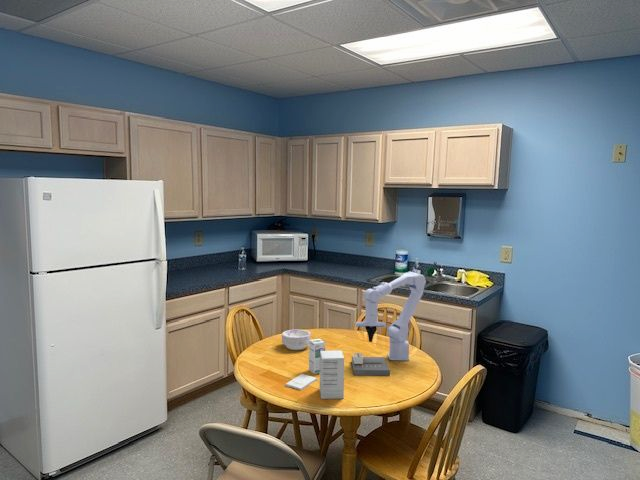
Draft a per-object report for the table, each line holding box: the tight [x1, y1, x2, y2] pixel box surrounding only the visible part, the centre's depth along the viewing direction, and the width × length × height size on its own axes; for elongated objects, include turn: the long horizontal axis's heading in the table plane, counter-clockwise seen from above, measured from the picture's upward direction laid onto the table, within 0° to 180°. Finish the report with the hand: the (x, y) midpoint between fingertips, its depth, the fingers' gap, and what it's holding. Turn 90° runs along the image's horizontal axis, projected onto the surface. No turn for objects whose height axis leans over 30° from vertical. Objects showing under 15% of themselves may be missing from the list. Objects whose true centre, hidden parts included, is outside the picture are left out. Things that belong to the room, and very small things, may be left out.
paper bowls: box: [281, 328, 312, 351], centre depth 234 cm, size 15×15×8 cm
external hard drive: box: [284, 373, 318, 391], centre depth 191 cm, size 2×8×12 cm
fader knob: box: [353, 352, 364, 364], centre depth 208 cm, size 4×5×4 cm
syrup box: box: [308, 338, 326, 375], centre depth 203 cm, size 6×6×14 cm
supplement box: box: [319, 350, 345, 400], centre depth 180 cm, size 10×9×17 cm
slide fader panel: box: [351, 356, 391, 376], centre depth 208 cm, size 16×16×3 cm
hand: (370, 341), depth 215 cm, fingers closed
